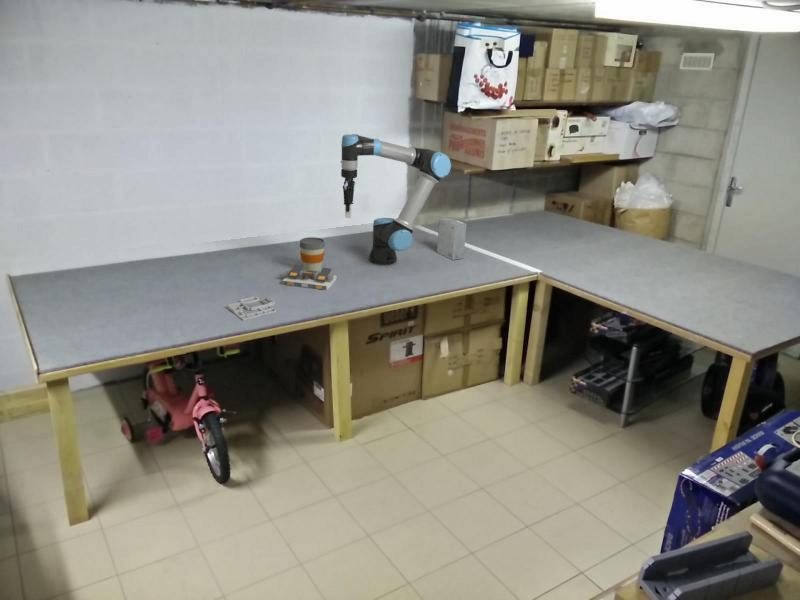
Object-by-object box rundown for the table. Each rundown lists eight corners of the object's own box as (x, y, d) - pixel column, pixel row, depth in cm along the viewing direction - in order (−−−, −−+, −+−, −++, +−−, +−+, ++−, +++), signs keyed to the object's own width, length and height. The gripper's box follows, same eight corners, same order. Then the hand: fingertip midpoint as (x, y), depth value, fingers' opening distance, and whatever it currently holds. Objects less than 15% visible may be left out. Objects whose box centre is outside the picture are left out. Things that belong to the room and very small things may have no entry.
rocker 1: (304, 267, 304) (304, 265, 303) (297, 278, 296) (297, 276, 296) (294, 266, 305) (294, 264, 304) (287, 277, 297) (287, 275, 296)
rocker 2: (332, 270, 302) (331, 268, 301) (325, 282, 294) (325, 280, 293) (322, 269, 303) (321, 267, 302) (315, 281, 295) (315, 278, 294)
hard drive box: (464, 258, 346) (467, 224, 339) (453, 260, 342) (456, 225, 335) (446, 251, 358) (449, 217, 351) (436, 252, 354) (438, 218, 347)
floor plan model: (256, 293, 285) (256, 289, 285) (283, 311, 268) (283, 307, 267) (217, 301, 274) (217, 297, 273) (242, 321, 256) (242, 317, 256)
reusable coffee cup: (322, 264, 325) (323, 236, 320) (326, 272, 314) (326, 244, 308) (298, 265, 322) (298, 237, 317) (301, 273, 311) (300, 244, 305)
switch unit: (336, 279, 306) (336, 269, 304) (326, 290, 292) (326, 280, 290) (293, 274, 310) (293, 264, 308) (282, 284, 295) (282, 274, 294)
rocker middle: (318, 273, 304) (318, 270, 303) (311, 276, 294) (311, 273, 294) (308, 272, 305) (308, 269, 304) (301, 275, 295) (301, 272, 295)
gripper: (345, 165, 300) (344, 213, 309) (337, 170, 288) (336, 220, 297) (360, 167, 298) (359, 215, 307) (353, 171, 287) (352, 221, 296)
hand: (348, 217), depth 302 cm, fingers closed
